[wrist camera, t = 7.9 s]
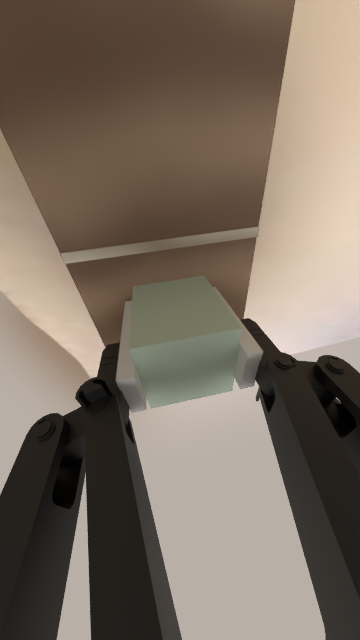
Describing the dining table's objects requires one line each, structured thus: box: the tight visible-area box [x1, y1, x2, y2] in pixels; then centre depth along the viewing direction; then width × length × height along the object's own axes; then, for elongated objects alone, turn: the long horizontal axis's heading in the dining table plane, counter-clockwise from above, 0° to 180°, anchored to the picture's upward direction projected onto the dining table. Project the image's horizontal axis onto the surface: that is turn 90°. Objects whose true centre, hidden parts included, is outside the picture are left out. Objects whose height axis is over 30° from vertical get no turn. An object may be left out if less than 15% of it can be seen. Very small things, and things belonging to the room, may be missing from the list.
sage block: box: [129, 275, 242, 408], centre depth 12 cm, size 5×5×6 cm
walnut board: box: [0, 0, 295, 347], centre depth 12 cm, size 16×12×4 cm
